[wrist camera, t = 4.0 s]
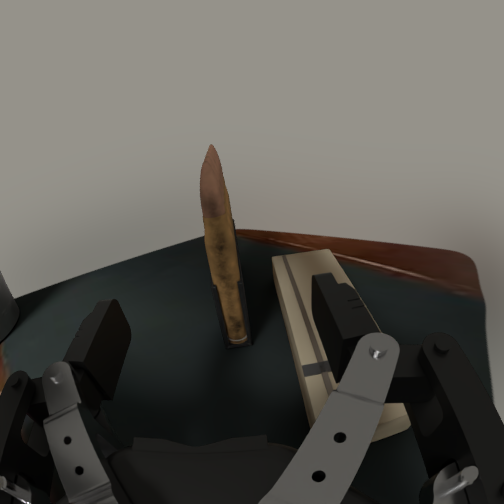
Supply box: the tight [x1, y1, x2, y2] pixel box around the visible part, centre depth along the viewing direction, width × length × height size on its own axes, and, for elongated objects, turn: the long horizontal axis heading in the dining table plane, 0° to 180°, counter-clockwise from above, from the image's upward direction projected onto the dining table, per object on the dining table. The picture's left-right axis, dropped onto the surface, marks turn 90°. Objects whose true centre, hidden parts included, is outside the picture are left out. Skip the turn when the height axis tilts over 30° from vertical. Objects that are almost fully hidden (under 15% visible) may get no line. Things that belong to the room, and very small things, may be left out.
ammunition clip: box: [200, 145, 253, 349], centre depth 20 cm, size 11×2×12 cm, turn 6°
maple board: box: [272, 249, 411, 443], centre depth 17 cm, size 5×16×2 cm, turn 4°
